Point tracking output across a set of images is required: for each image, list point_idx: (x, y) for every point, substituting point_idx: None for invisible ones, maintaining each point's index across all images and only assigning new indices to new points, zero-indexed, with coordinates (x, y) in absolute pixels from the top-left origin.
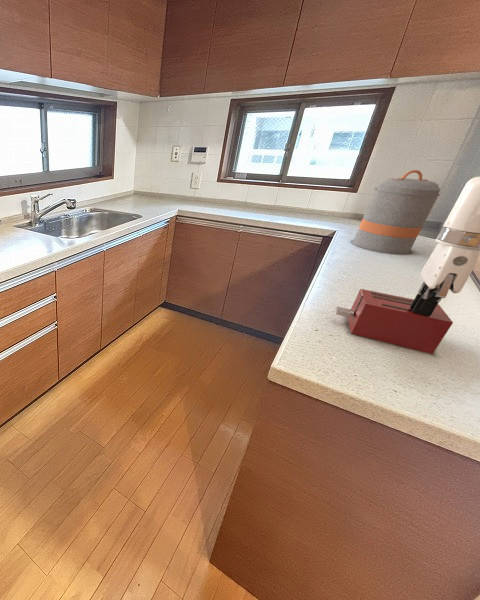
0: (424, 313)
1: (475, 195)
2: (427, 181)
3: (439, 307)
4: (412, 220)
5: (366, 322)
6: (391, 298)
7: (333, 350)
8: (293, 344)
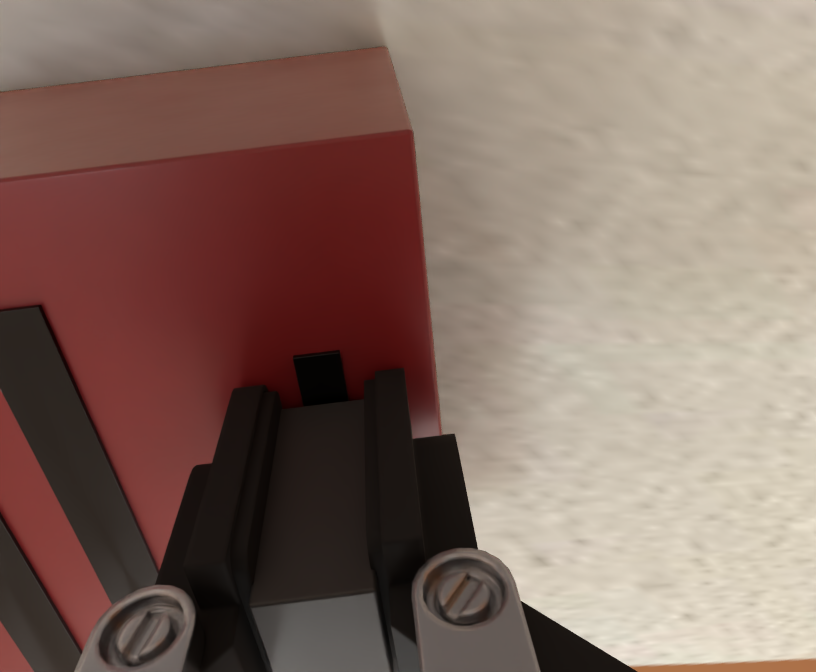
0: (411, 429)
1: None
2: None
3: None
4: None
5: None
6: (91, 626)
7: (726, 533)
8: (756, 646)
